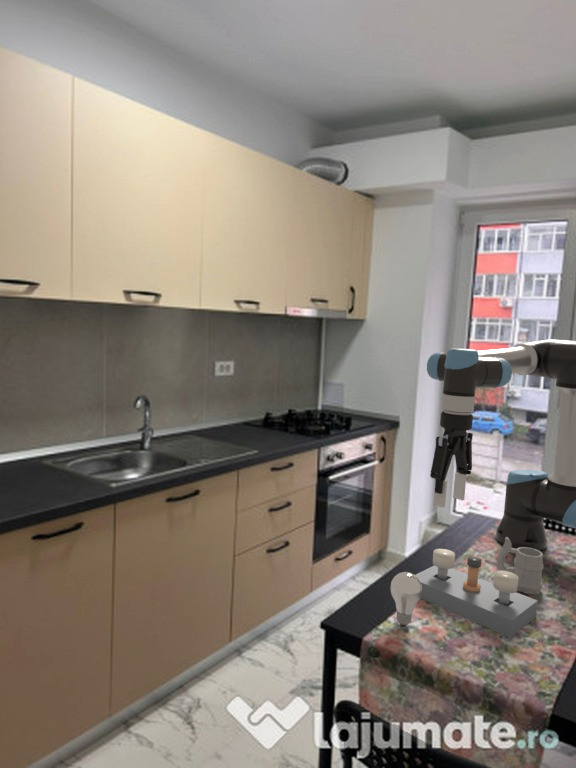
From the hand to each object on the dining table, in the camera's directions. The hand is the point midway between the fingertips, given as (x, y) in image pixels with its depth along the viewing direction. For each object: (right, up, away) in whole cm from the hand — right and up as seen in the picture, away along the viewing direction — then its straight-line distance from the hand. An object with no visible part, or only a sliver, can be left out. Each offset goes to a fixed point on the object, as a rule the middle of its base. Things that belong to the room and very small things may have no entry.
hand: (449, 502), depth 141 cm
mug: (+21, -24, +9) cm, 33 cm away
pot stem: (+4, -20, -3) cm, 21 cm away
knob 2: (+10, -22, -9) cm, 26 cm away
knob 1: (-1, -20, +2) cm, 20 cm away
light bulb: (-14, -25, -14) cm, 32 cm away
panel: (+4, -24, -3) cm, 25 cm away
